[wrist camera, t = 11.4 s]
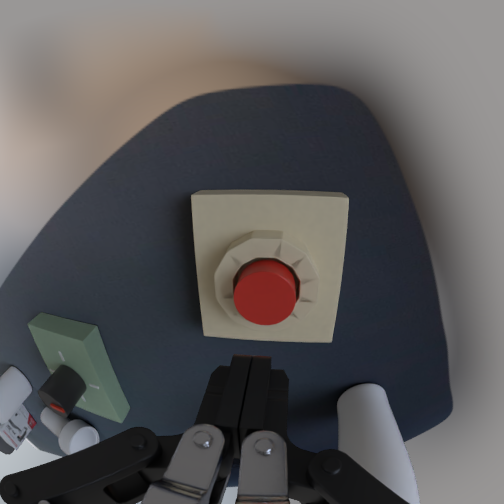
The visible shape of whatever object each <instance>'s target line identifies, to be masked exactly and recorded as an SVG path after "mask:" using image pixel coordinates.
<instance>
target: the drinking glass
mask: <svg viewBox="0 0 504 504" xmlns="http://www.w3.org/2000/svg"><path fill="white" fill-rule="evenodd" d="M337 412H338V450H340V451H342V452H344V453H346V454H347V455H348V456H350V457H351V458H352V459H353V460H354V461H356V462H357V463H358V464H359V465H360V466H362V467H363V468H364V469H365V470H366V471H368V472H369V473H370V474H371V475H373V476H374V477H375V478H376V479H378V480H379V481H380V482H381V483H383V484H384V485H385V486H387V487H388V488H389V489H391V490H392V491H393V492H394V493H396V494H397V495H399V496H400V497H401V498H403V499H404V500H405V501H407V502H408V503H410V504H420V498H419V492H418V486H417V481H416V477H415V473H414V469H413V466H412V463H411V460H410V457H409V455H408V452H407V449H406V446H405V444H404V441H403V439H402V436H401V433H400V431H399V428H398V426H397V423H396V420H395V418H394V415H393V413H392V410H391V408H390V405H389V402H388V399H387V396H386V392H385V391H384V389H383V388H382V387H381V386H379V385H377V384H372V383H365V384H360V385H356V386H354V387H352V388H350V389H348V390H346V391H345V392H344V393H343V394H342V395H341V396H340V398H339V399H338V402H337Z"/></svg>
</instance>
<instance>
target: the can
mask: <svg viewBox="0 0 504 504" xmlns="http://www.w3.org/2000/svg"><path fill="white" fill-rule="evenodd" d="M31 392H32V386H31V384H30V382H29V380H28V379H27V378H26V376H25V375H24V374H23V373H22V372H21V371H20V370H19V369H18V368H16V367H14V366H13V367H12V366H11V367H10V368H9V369H8V370H7V371H6V372H5V373H4V374H3V375H2V376H1V377H0V426H1V425H2V424H3V423H6V422H7V421H8V420H9V419H10V418H11V416H12V415H13V414H14V413H15V411H16V410H17V409H18V408H19V406H20V405H21V404H22V403H23V402H24V400H25V399H26V398H27V397H28V395H29V394H30V393H31Z"/></svg>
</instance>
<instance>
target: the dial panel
mask: <svg viewBox="0 0 504 504" xmlns="http://www.w3.org/2000/svg"><path fill="white" fill-rule="evenodd" d="M28 327H29V329H30V331H31V334H32V336H33V338H34V340H35V343H36V345H37V347H38V349H39V351H40V353H41V355H42V357H43V359H44V361H45V363H46V365H47V367H48V369H49V371H50V373H51V375H52V374H53V373H54V372H55V370H56V369H57V368H58V367H59V366H60V365H66V366H68V367H70V368H72V369H73V370H74V371H75V372H77V373H78V374H79V375H80V377H81V378H82V379H83V380H84V382H85V384H86V387H87V389H86V391H85V393H84V394H83V395H82V397H81V398H80V399H79V401H78V402H77V404H76V405H75V406H77V407H80V408H82V409H84V410H87V411H89V412H92V413H94V414H97V415H100V416H102V417H105V418H108V419H111V420H114V421H117V422H120V423H122V422H123V420H124V419H125V417H126V415H127V413H128V411H129V410H130V406H129V404H128V402H127V400H126V398H125V395H124V393H123V391H122V389H121V387H120V384H119V382H118V380H117V377H116V375H115V373H114V370H113V368H112V365H111V363H110V360H109V357H108V355H107V352H106V350H105V347H104V344H103V341H102V338H101V336H100V333H99V330H98V327H97V326H96V325H92V324H87V323H83V322H78V321H74V320H70V319H66V318H62V317H58V316H54V315H50V314H46V313H43V312H41V313H40V314H39V315H37V316H36V317H35V318H34V319H33V320H31V321H30V322H29V323H28Z"/></svg>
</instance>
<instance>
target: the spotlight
mask: <svg viewBox="0 0 504 504" xmlns="http://www.w3.org/2000/svg"><path fill="white" fill-rule="evenodd" d="M41 421H42V423H43V424H44V425H45V426H46V427H47V428H48V429H49V430H50V431H52V432H53V433H54V434H55V435H56V436H57V437H58V438H59V445H60V448H61V449H62V451H63V452H64V453H65V454H67V455H70V454H73V453H75V452H78V451H80V450H83V449H85V448H88V447H90V446H92V445H95V444H97V443H99V434H98V432H97V431H96V429H95V428H93V427H92V426H90V425H89V424H88V423H86V422H84V421H83V420H81V419H76V420H72V421H71V420H69V419H68V418H67V417H66V418H64V417H61V416H59V415H57V414H56V413H54V412H53V411H52V410H51V409H49V408H48V407H46V408H45V409H44V410H43V411H42V413H41Z"/></svg>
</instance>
